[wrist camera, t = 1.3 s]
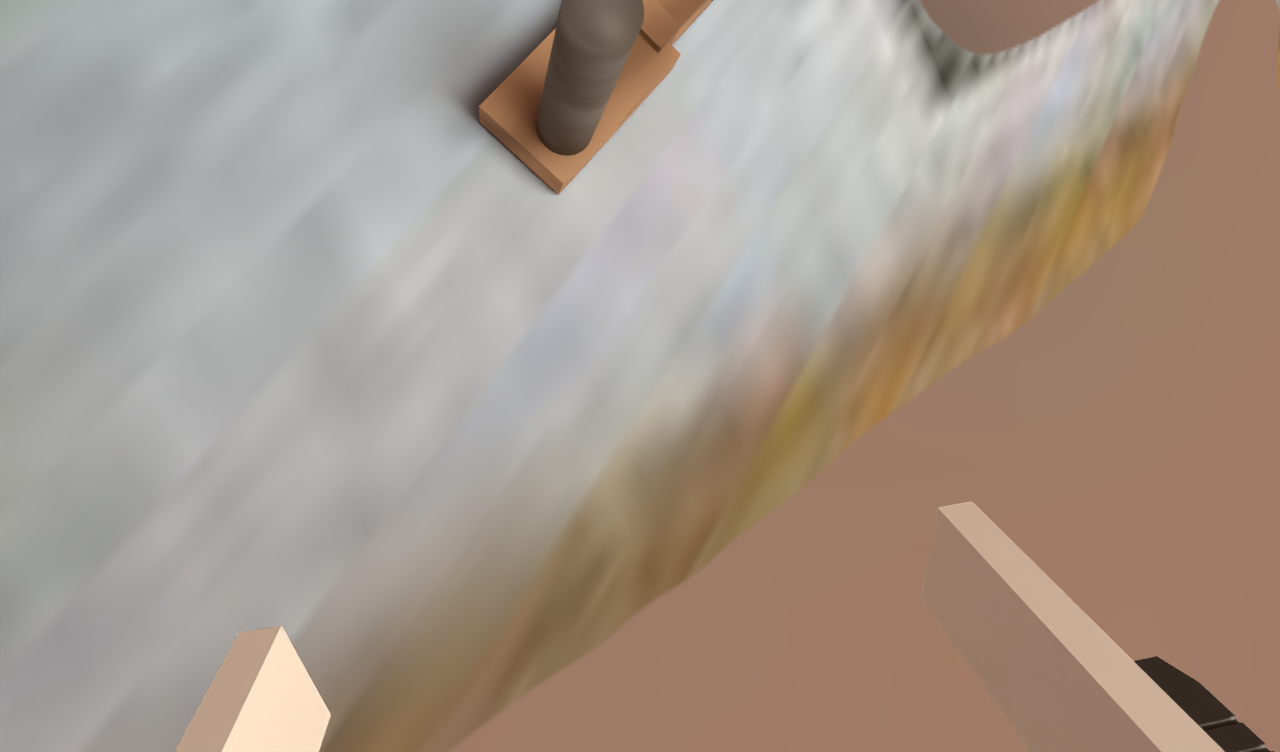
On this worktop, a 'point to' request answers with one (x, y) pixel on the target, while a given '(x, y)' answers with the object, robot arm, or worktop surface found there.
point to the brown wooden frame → (621, 102)
